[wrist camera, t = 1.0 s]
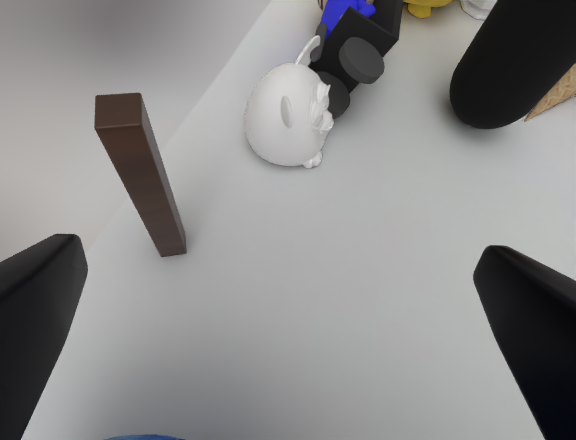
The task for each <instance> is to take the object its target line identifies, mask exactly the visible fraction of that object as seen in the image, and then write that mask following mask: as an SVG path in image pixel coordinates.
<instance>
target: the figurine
mask: <svg viewBox="0 0 576 440" xmlns="http://www.w3.org/2000/svg"><path fill="white" fill-rule="evenodd" d="M319 44H320V36H318V35H317V36H315V37H313V38H312V39H311V40H310V41H309V42H308V43H307V44H306V46H305V47H304V48H303V50H302V51H301V53H300V54H299V56H298V58H297V60H296V62H295V63H285V64H281V65H279V66H277V67H275V68H273V69H272V70H270V71H269V72H268V73H267V74H266V75H265V76H264V77H263V78H262V79H261V80H260V81H259V82H258V83H257V85H256V86H255V88H254V89H253V91H252V93H251V95H250V97H249V100H248V103H247V106H246V111H245V130H246V134H247V137H248V140H249V143H250V145H251V147H252V149H253V150H254V151H255V152H256V153H257V154H258V155H259V156H260V157H262V158H263V159H265V160H267V161H269V162H271V163H274V164H278V165H283V166H299V165H303V166H304V167H305V168H311V167H313V166H318V165H319V164H320V163H321V159H322V152H321V151H320V150H321V148H322V147H323V145H324V143H325V140H326V137H327V134H328V133H329V130H330V129H331V128H332V127H333V124H334V122H333V119H332V114H331V113H330V112H329V111H328V109H327V108H328V106H329V97H328V92H329V89H330V85H328V86H326V84H324V83H323V82H322V81H321V80H320V78H319V76H318V74H316V73H315V72H314V71H313V70H311V69H310V68H309V67H307V66H308V65H309V63H310V62H311V59H310V53H311V51H312V50H313V49H314V48H315V47H316V46H318V45H319Z"/></svg>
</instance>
